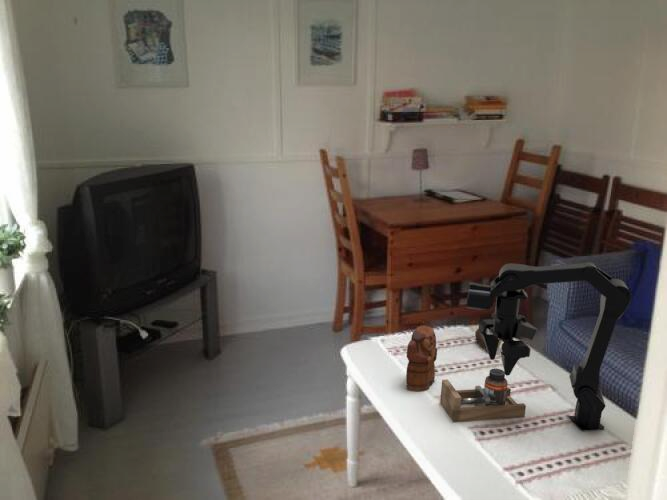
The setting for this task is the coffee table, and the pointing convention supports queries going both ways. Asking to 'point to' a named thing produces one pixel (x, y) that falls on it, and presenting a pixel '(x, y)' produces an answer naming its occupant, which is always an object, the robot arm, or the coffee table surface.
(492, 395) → the supplement bottle
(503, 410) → the wooden tray
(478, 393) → the pusher
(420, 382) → the wooden figurine
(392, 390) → the coffee table surface
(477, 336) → the decorative rock
